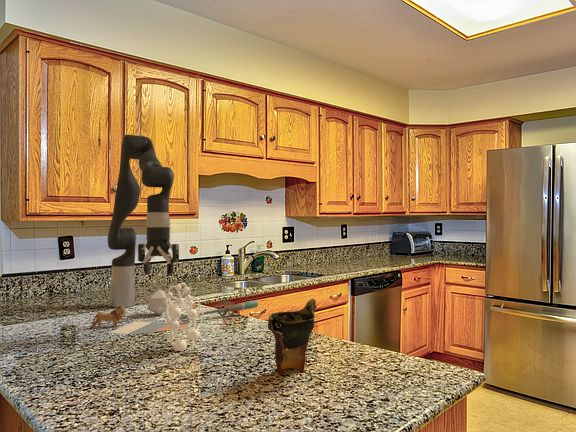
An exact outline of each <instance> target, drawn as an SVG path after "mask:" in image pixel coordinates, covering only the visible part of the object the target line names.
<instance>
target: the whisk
mask: <svg viewBox="0 0 576 432" xmlns="http://www.w3.org/2000/svg"><path fill="white" fill-rule="evenodd" d="M222 304H223V305H224V307H221V306H222ZM227 304H230V305H228V306H227ZM258 306H259V301H258V300H255V299H253V300H250V301H249V300H248V301H245V302H244V301H243V302H241V303H237V304H234V303H233V302H231V301H230V300H223V301H221V302H220V303H219V304H218V308H217V309H215V310H211V311H205V312H204V311H203V314H204V316H205V315H210V314H214V313H217V314H219V315H220V316H221V317H222V318H223V319H226V318H225V317H226V314H227V313H228V316H227V317H230V318H232V316H233V315H234V314H235V311H236V312H237V311H242V310H251V309H256V308H257V307H258ZM187 312H188V311H185V312H184V313H187ZM231 312H232V313H231ZM200 316H202V313H201V312H200V314H199V315H198V316H197V317H200ZM179 320H180V321H181V322H183V323H184V322H190V321H192V319H189V318H188V317H187V315H182V314H181V316H180V317H179Z"/></svg>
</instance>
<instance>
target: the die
mask: <svg viewBox="0 0 576 432" xmlns="http://www.w3.org/2000/svg"><path fill="white" fill-rule="evenodd" d="M167 293H168V292H165V291H163V290H161V289H158V290H155V292H153V293H151V294H149V295H148V296H147V297H148V298H147V300H148V301H147V310H149V311H150V312H153V313H155V314H156V315H158V316H161V315H162V314H164V313H165V309H166V306H167V305H165V302H164V301H165V298H166V294H167ZM171 300H172V298H167V300H166V303H168V302H172V301H171ZM170 309H171V308H168V311H170Z"/></svg>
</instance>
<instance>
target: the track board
mask: <svg viewBox="0 0 576 432" xmlns="http://www.w3.org/2000/svg"><path fill="white" fill-rule="evenodd" d="M118 323H128V324H125V325H123V326H121V327H117V328H116V329H113V330H111V331H98V330H97V331H96V330H90V331H89V333H104V334H122V335H123V334H125V335H126V334H127V335H140V334H147V333H153V332H162V331H169V330H171V328H170V325H169V323H168V322H153V321H151V322H150V321H135V320H134V321H132V320H131V321H130V320H119V321H118ZM188 325H189V324H188V323H179V328H178V329H183V328H184V327H187V326H188ZM178 329H177V330H178Z"/></svg>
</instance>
